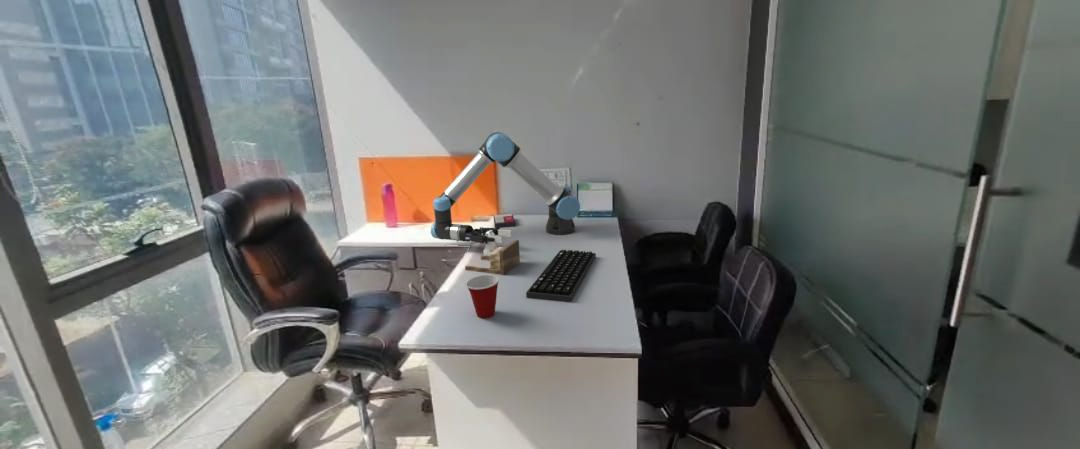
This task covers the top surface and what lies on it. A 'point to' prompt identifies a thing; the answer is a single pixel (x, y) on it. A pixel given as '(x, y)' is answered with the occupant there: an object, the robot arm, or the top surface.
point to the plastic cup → (483, 294)
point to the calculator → (504, 221)
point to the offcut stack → (495, 259)
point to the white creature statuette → (489, 244)
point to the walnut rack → (502, 260)
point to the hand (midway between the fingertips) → (506, 236)
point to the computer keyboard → (562, 276)
